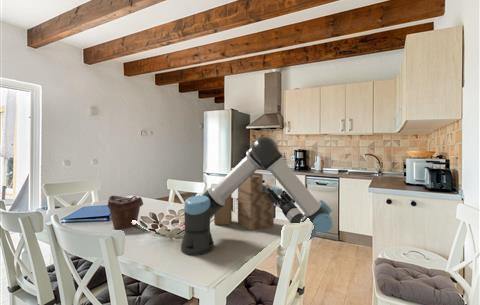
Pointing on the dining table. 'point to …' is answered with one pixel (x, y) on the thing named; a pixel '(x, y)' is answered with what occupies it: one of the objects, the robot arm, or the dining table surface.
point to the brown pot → (124, 210)
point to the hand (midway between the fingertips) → (269, 184)
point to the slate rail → (276, 190)
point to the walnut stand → (254, 204)
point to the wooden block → (224, 213)
